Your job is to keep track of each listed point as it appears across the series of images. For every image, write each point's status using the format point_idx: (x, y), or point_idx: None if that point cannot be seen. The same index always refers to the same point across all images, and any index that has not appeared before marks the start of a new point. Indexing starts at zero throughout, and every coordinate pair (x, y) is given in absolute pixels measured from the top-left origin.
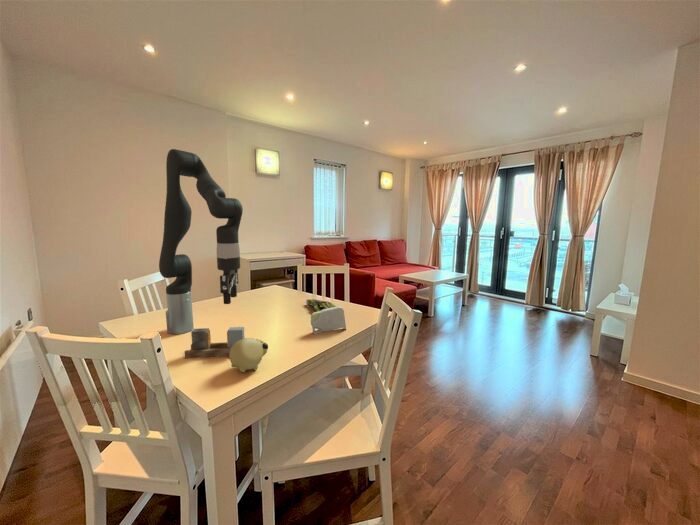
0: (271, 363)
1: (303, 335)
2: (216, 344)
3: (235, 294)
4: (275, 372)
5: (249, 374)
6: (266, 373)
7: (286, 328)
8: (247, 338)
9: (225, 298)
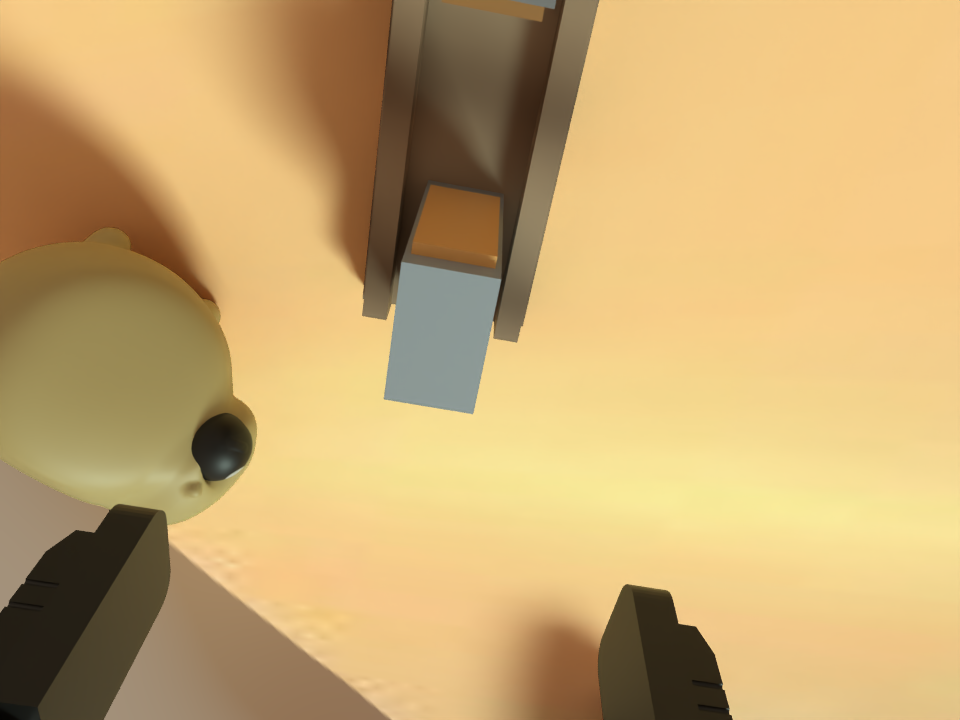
0: None
1: None
2: (551, 59)
3: (606, 695)
4: None
5: None
6: None
7: (794, 577)
8: (27, 469)
9: (11, 631)
